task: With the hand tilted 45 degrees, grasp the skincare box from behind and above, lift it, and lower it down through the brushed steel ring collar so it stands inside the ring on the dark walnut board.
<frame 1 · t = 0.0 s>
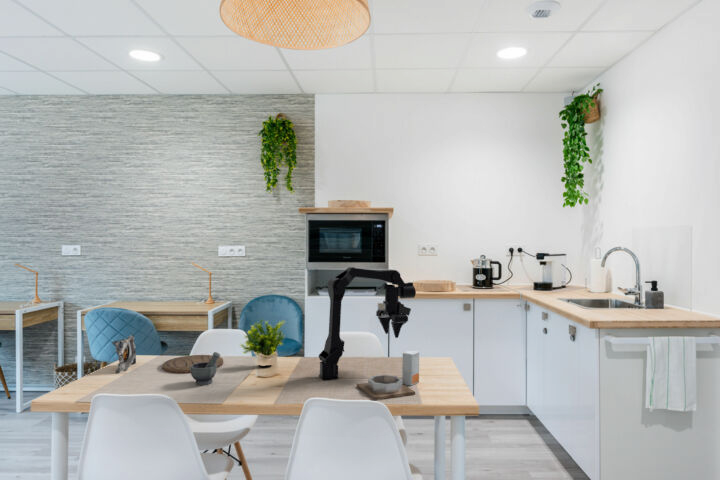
hand: (391, 335, 193), 15 cm above the table, tool pointing down, fingers open, 9 cm apart
trivet: (193, 366, 200), on the table
mortar and pestle: (205, 383, 174), on the table
steel ring: (385, 383, 167), on the walnut board, point 2 cm above the table
walnut board: (385, 390, 167), on the table
grey piece: (124, 369, 194), on the table
skincare box: (410, 383, 175), on the table
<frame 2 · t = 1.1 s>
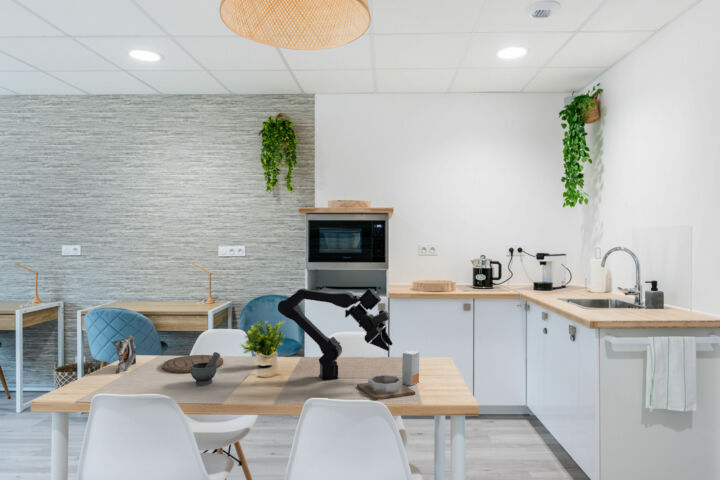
hand: (390, 347, 177), 13 cm above the table, tool tilted 45°, fingers open, 9 cm apart
nothing on the table moved.
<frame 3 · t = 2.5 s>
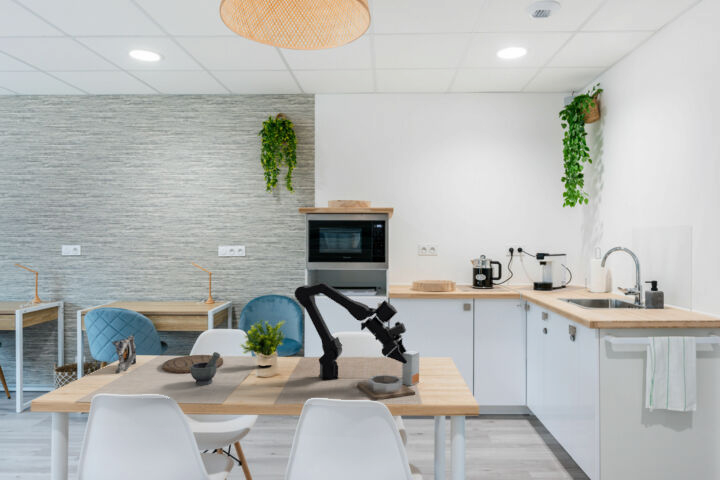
hand: (407, 359, 176), 9 cm above the table, tool tilted 45°, fingers open, 9 cm apart
nothing on the table moved.
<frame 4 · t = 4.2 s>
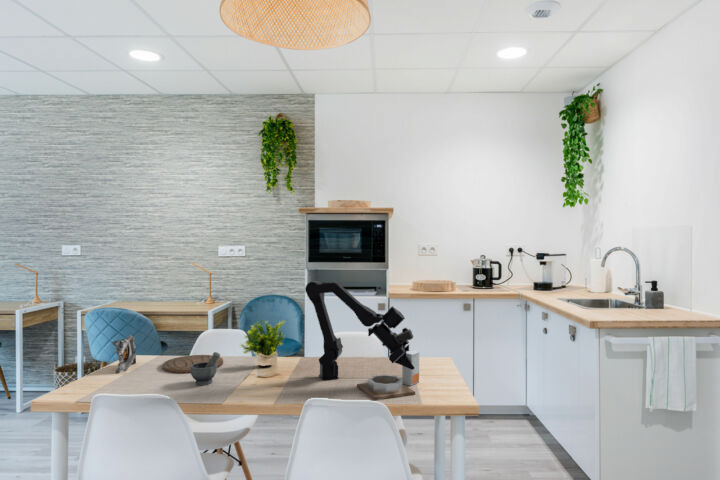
hand: (414, 366, 175), 7 cm above the table, tool tilted 45°, fingers closed on skincare box, 7 cm apart
skincare box: (410, 383, 175), on the table, touching gripper
everything else where it was.
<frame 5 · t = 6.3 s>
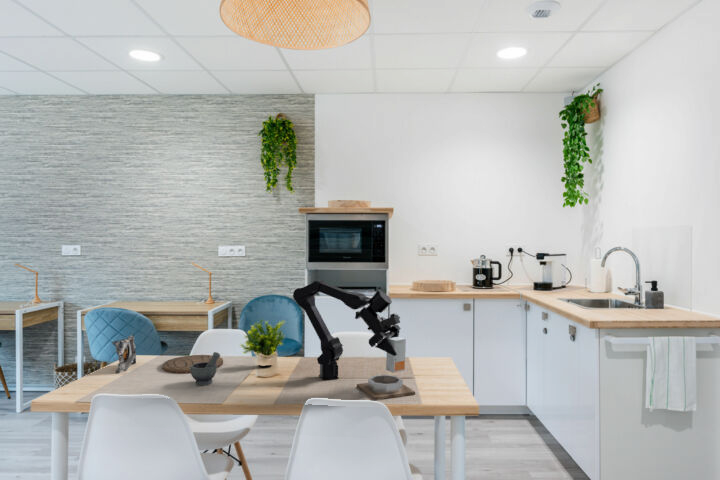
hand: (399, 353, 169), 13 cm above the table, tool tilted 45°, fingers closed on skincare box, 7 cm apart
skincare box: (395, 371, 170), point 6 cm above the table, touching gripper
everything else where it was.
when the fingers open (9 cm above the table, at t = 8.7 s): skincare box drops 1 cm, resting on walnut board.
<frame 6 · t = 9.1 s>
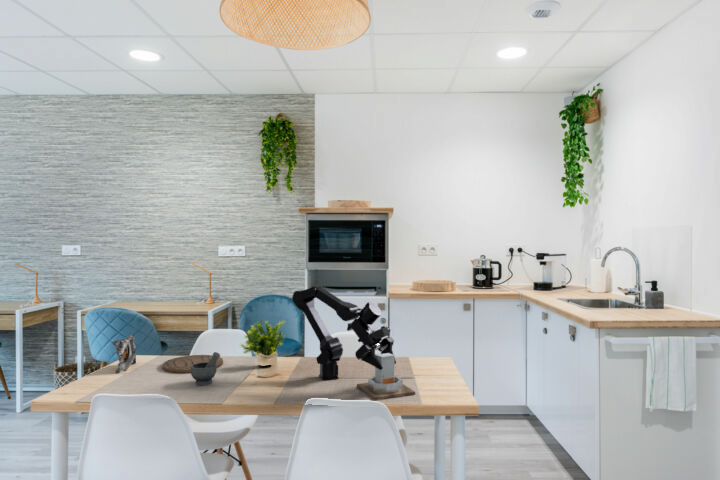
hand: (388, 366, 166), 9 cm above the table, tool tilted 45°, fingers open, 9 cm apart
skincare box: (385, 388, 167), point 1 cm above the table, touching walnut board
everything else where it was.
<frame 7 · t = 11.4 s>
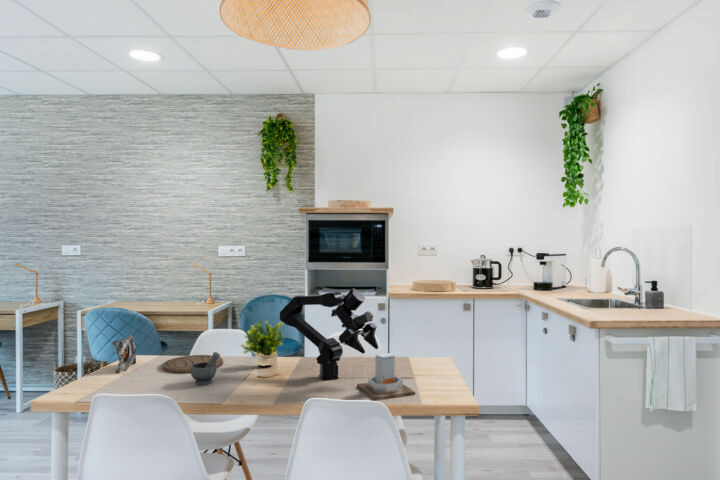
hand: (371, 350, 171), 14 cm above the table, tool tilted 45°, fingers open, 9 cm apart
nothing on the table moved.
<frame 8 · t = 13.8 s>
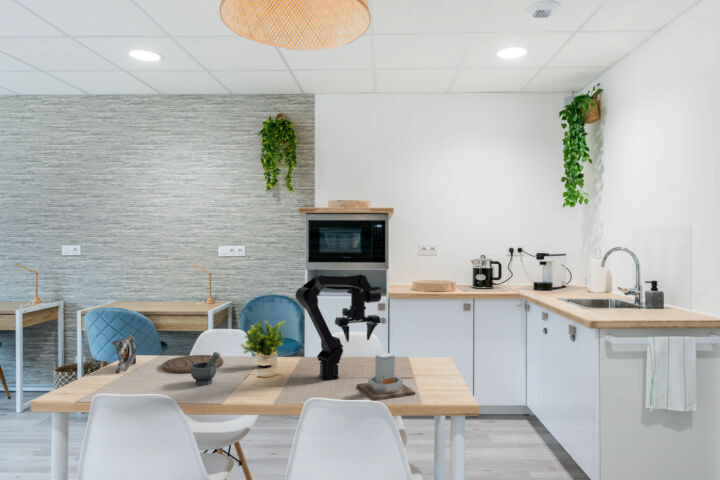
hand: (357, 340, 191), 13 cm above the table, tool pointing down, fingers open, 9 cm apart
nothing on the table moved.
at the end: skincare box 0.2 cm from the steel ring (horizontally); skincare box tilted 0°; the gripper is holding nothing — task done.
